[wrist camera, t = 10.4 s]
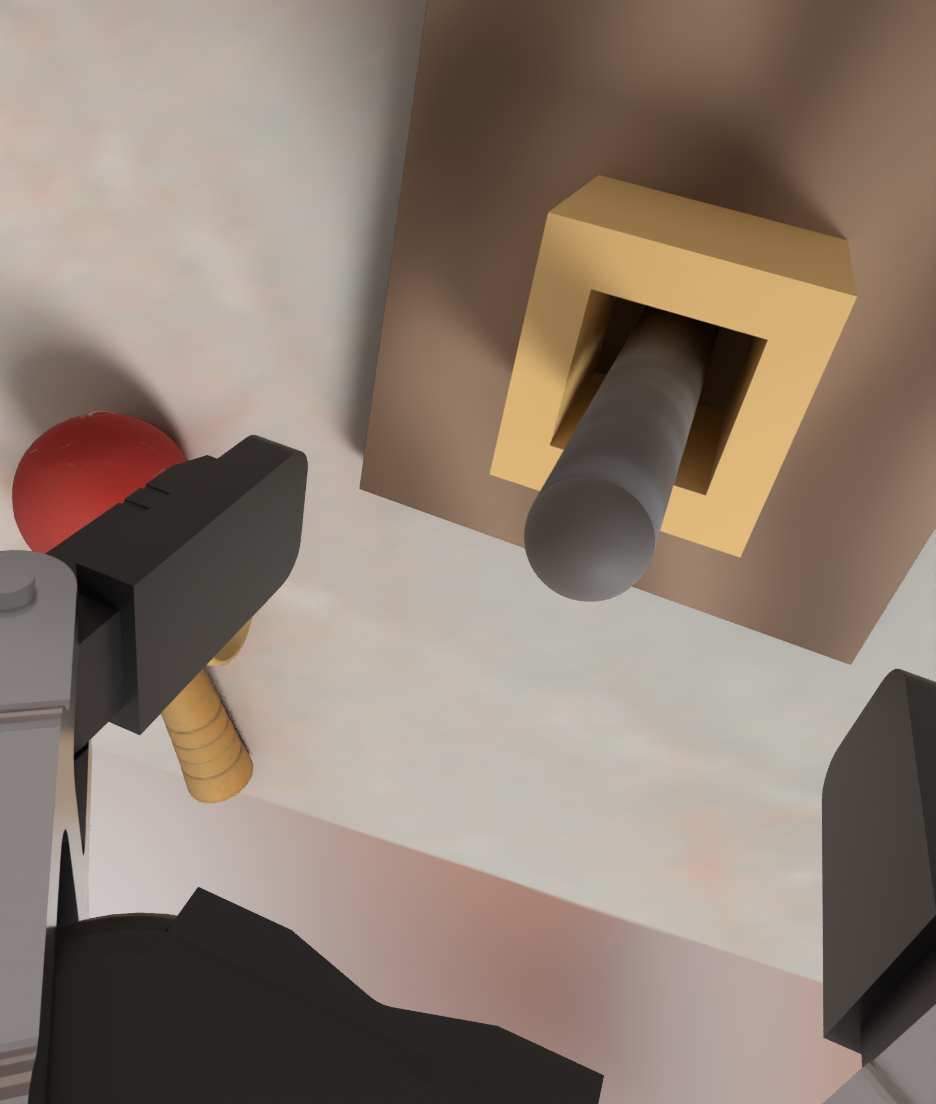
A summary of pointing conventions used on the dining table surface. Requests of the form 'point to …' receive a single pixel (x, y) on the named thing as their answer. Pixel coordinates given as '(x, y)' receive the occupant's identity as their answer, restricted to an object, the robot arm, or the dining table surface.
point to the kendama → (80, 497)
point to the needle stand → (658, 335)
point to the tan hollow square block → (690, 290)
